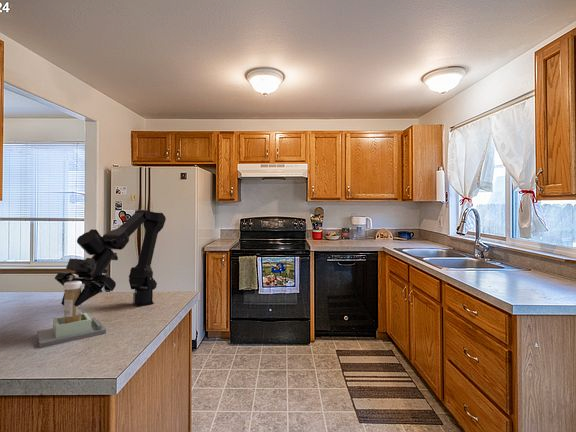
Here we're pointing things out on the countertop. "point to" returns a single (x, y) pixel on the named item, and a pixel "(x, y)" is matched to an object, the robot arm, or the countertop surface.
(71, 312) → the sprinkles bottle
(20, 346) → the countertop surface
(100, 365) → the countertop surface
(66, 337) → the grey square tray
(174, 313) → the countertop surface
